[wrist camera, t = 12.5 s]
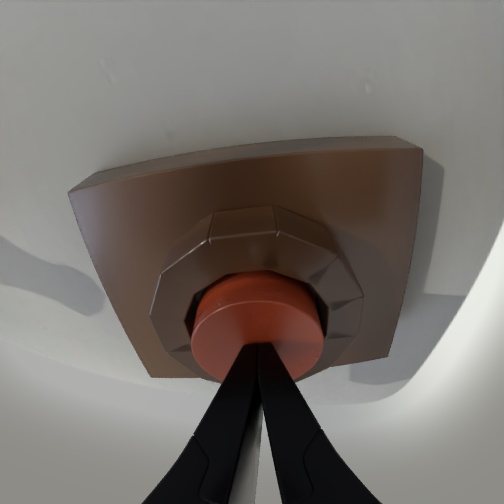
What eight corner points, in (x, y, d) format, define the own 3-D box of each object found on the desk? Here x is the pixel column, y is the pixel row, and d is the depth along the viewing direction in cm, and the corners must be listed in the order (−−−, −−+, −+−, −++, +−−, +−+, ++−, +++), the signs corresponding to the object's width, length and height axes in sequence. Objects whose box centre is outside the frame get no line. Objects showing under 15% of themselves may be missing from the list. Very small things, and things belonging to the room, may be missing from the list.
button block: (395, 136, 10) (454, 164, 7) (376, 327, 15) (398, 385, 12) (93, 173, 11) (38, 213, 7) (159, 347, 16) (143, 406, 12)
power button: (315, 257, 9) (327, 293, 8) (314, 345, 11) (321, 381, 10) (185, 270, 9) (174, 307, 8) (211, 354, 11) (207, 390, 10)
